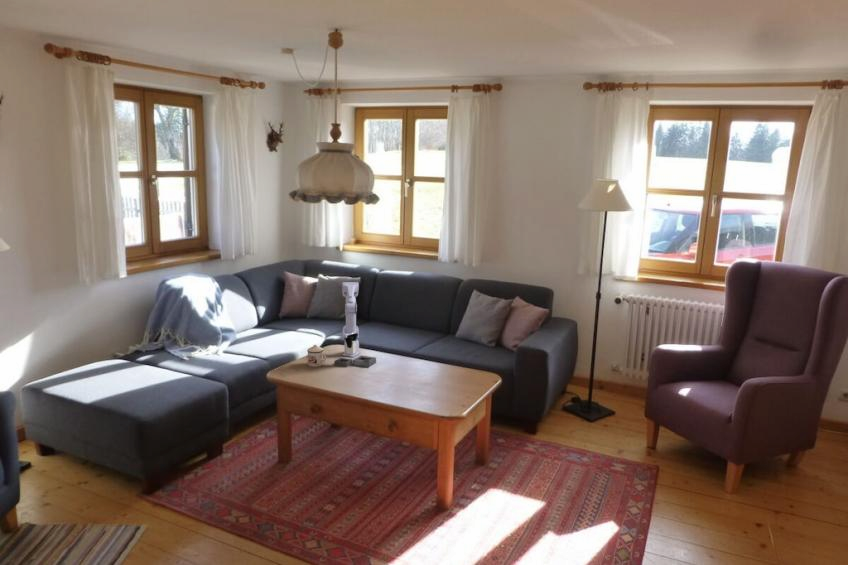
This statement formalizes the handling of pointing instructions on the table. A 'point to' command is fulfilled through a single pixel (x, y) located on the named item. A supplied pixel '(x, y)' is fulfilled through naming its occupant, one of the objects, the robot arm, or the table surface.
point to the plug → (352, 349)
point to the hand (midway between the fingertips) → (350, 346)
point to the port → (364, 361)
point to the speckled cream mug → (315, 356)
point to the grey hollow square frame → (343, 362)
